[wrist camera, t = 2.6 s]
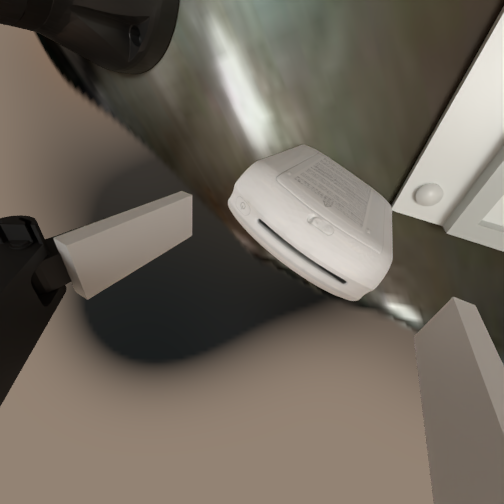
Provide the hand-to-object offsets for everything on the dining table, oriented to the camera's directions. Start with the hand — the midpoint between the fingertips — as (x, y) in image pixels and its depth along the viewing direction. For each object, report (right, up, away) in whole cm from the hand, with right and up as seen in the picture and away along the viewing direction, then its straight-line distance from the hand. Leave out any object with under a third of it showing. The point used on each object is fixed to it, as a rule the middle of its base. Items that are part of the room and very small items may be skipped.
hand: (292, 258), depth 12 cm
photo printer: (+6, +6, +10) cm, 13 cm away
